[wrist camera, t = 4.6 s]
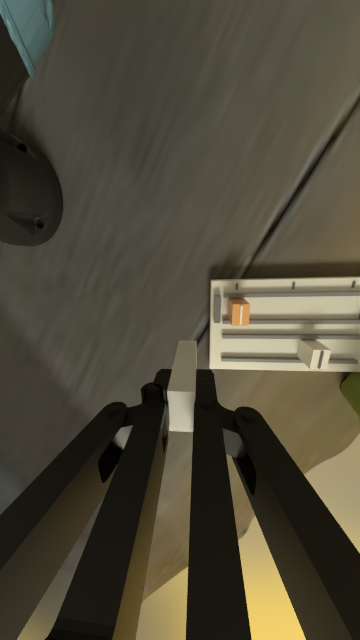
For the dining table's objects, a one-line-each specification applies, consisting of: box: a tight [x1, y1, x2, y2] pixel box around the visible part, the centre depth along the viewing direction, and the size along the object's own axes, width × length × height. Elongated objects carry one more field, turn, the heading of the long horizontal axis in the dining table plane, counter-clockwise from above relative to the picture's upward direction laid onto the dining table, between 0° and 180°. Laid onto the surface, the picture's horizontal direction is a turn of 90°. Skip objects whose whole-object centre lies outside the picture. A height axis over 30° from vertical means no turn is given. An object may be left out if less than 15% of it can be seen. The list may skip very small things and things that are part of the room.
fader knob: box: [228, 299, 250, 326], centre depth 29 cm, size 3×2×4 cm
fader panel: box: [209, 276, 360, 372], centre depth 30 cm, size 16×26×6 cm, turn 92°
